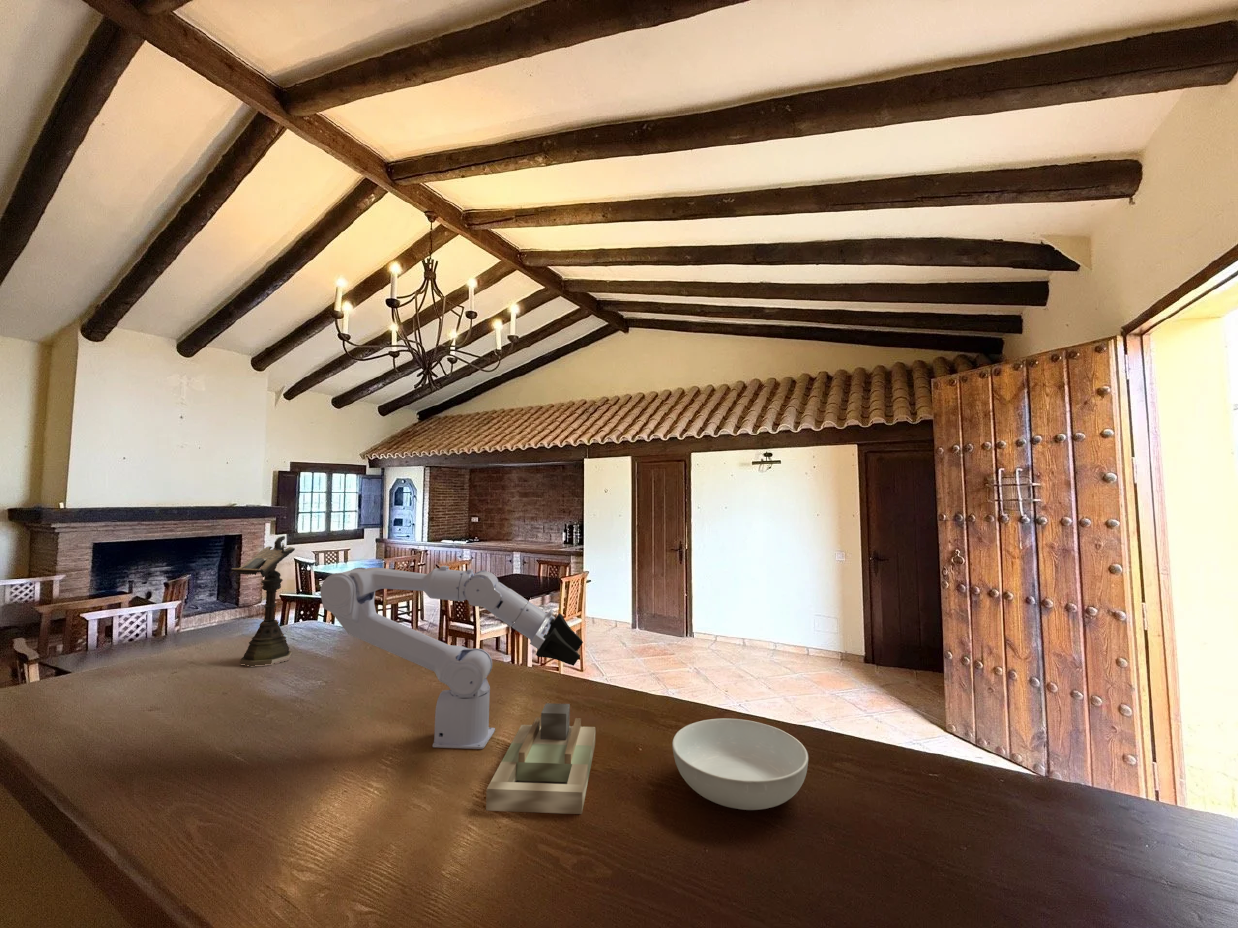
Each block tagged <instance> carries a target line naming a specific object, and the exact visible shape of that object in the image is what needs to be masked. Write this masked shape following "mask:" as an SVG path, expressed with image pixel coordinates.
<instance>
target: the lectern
mask: <svg viewBox="0 0 1238 928" xmlns="http://www.w3.org/2000/svg"><path fill="white" fill-rule="evenodd" d="M285 540H286V536H285V535H283V536H279V537H277V538H276V540H275V541H274V542H273V543H274V547H273V546H271V545H270V546H266V547H264V548H262V550H260V551H259V552H258V553H257V554H255V555H254V556H253V557H252V558H251V559H250V560H248V561H246V563H244V564H243V565H241V566H240V567H232V568H230V571H231V573H229V576H230V577H231V576H232V575H233V574H235V573H237V574H238V575H246V576H248V575H250V576H253V575H254V576H257V574H258V573H260V575H261V577H262V578H264V579H262V580H261V581H260V582H261V584H262V586H261V590H263V591H265V594H266V595H265V605H263V607H264V609H265V610H264V619H263V621H261V622H260V623H259V625H258V626H259V627H258V629H257V630H256V633H255V634H254V636H252V637H251V640H250V641H248V644H249V645H248V646H247V649H246V651H245V653H244V654H243V656H242V658H241V659H240V664H245V665H249V666H255V665H265V664H271V663H274V662H277V661H280V660H283V659H287V658H289V657H290V655H291V654H292V653H293V651H291V650H290V646H289V645H288V642H287V637H286V636H284V635H285V633H283V631H282V629H281V627H280V625H279V623H280V622H279V621H278V620H277V619H276V618H275V609H276V607H277V603H276V597H277V596H276V595H277V592H278V591H277V590H280V589H281V587H282V585H281V583H282V582H283V581H284V580H283V579H282V578H281V576H282V575H281V573H280V572H279V571H277V570H276V569H277V566H278V564H279V563H280V562H281V561H283V560H284V559H285V558H287V557H289V555H290V554H292V553H293V552H294V551H295V549H296V548H295V547H292V546H288V547H287V546H285V544H284V543H282V542H283V541H285ZM240 664H239V665H240Z"/></svg>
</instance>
